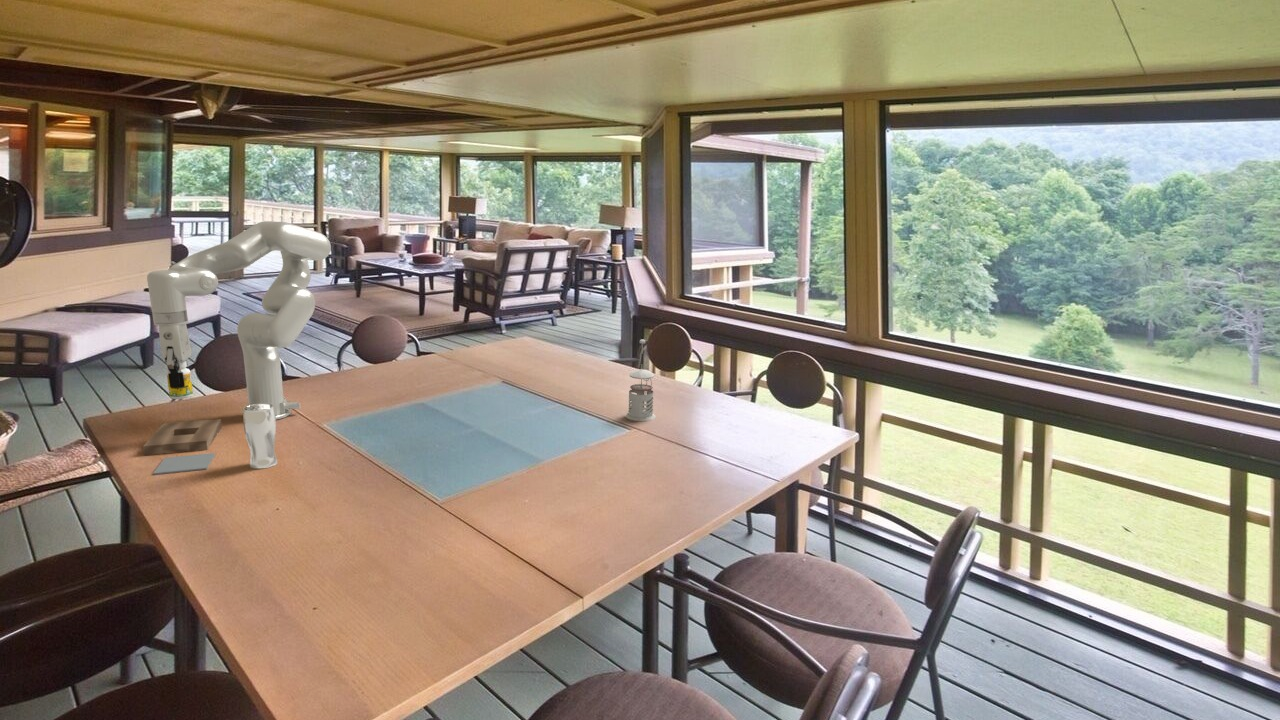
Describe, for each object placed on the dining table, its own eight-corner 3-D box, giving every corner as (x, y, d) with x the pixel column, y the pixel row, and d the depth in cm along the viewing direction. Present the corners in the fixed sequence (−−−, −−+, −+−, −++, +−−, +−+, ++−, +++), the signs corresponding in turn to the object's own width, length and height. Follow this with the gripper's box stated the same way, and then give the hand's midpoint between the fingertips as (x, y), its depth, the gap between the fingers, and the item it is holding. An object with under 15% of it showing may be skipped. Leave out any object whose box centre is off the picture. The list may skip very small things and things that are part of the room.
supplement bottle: (192, 393, 190) (189, 359, 189) (193, 398, 186) (190, 363, 184) (169, 395, 188) (165, 361, 186) (169, 400, 183) (165, 364, 181)
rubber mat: (215, 454, 179) (215, 453, 179) (206, 469, 169) (206, 468, 169) (165, 459, 175) (164, 457, 175) (153, 474, 165) (153, 473, 165)
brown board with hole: (221, 427, 201) (220, 418, 200) (207, 449, 183) (206, 440, 182) (164, 431, 196) (163, 423, 195) (144, 455, 178) (143, 446, 177)
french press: (620, 418, 218) (621, 340, 213) (634, 409, 229) (636, 334, 223) (649, 422, 214) (651, 343, 209) (662, 413, 225) (664, 337, 220)
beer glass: (270, 457, 178) (264, 401, 175) (285, 463, 174) (279, 406, 171) (242, 465, 173) (236, 407, 169) (256, 471, 169) (250, 412, 165)
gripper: (179, 322, 175) (189, 391, 180) (194, 311, 191) (203, 375, 195) (144, 324, 173) (155, 394, 177) (162, 313, 188) (172, 377, 193)
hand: (180, 383), depth 186 cm, fingers closed on supplement bottle, 5 cm apart
